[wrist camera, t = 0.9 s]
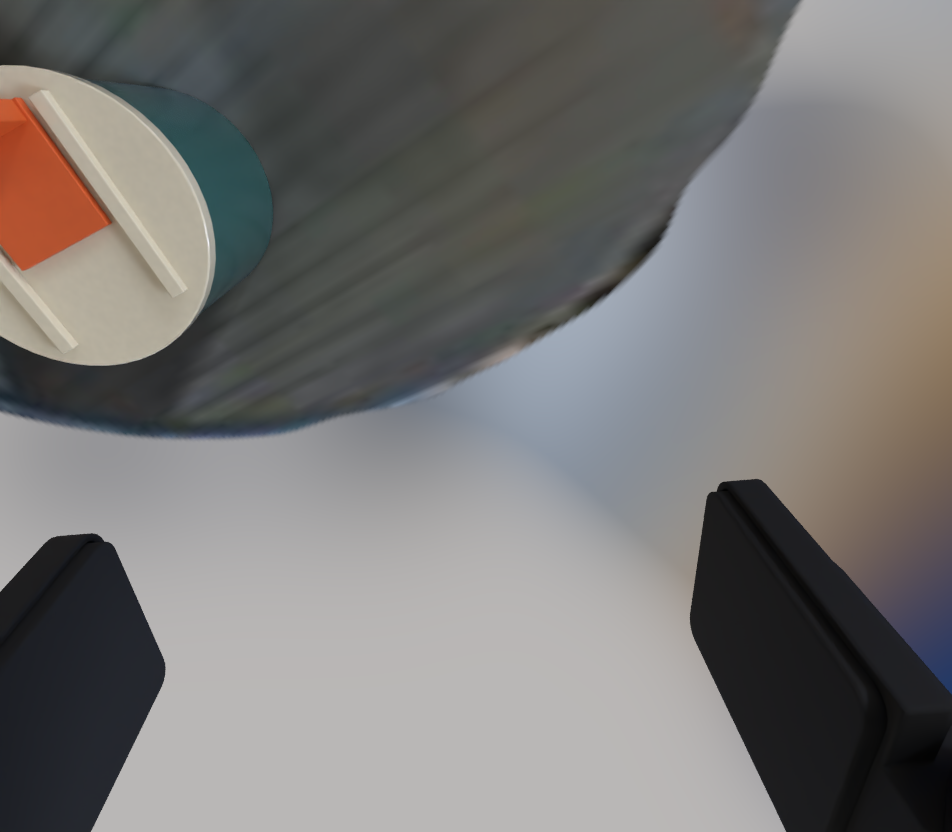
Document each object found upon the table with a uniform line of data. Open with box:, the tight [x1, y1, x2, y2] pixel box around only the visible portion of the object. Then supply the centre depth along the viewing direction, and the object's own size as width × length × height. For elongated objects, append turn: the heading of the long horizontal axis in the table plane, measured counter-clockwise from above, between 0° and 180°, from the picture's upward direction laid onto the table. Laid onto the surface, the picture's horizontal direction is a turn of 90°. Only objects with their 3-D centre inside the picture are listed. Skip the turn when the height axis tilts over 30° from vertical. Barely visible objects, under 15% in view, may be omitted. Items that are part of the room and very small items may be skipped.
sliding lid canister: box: [0, 65, 273, 366], centre depth 28 cm, size 11×11×11 cm
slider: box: [0, 97, 112, 271], centre depth 22 cm, size 5×4×2 cm
